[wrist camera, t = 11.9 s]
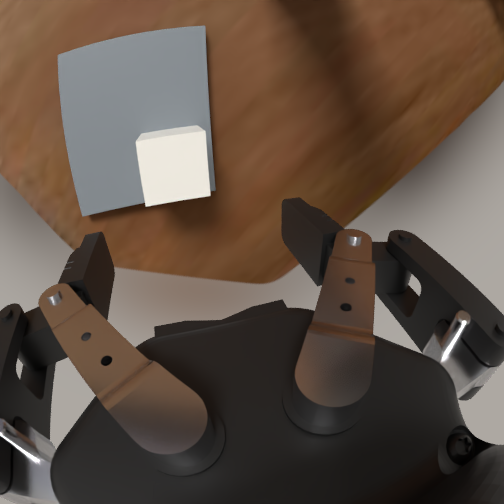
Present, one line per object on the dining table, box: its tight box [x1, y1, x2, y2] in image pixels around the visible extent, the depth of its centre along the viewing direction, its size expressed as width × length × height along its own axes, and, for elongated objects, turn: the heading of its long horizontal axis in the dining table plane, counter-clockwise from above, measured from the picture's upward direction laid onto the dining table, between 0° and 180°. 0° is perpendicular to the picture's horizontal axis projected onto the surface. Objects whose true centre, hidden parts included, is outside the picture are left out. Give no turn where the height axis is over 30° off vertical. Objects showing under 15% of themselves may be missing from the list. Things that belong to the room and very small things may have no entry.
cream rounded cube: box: [136, 125, 211, 207], centre depth 24 cm, size 6×6×6 cm
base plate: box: [58, 26, 216, 216], centre depth 24 cm, size 15×18×2 cm
